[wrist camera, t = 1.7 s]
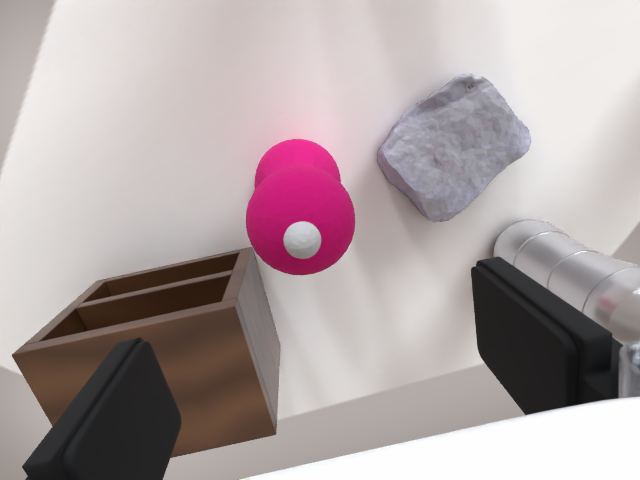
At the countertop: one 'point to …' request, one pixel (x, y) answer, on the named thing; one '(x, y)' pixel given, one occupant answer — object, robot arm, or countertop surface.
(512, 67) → the countertop surface
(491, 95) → the stone block
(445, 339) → the countertop surface
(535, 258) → the silver metal bottle
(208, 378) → the shelf
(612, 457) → the robot arm
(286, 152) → the pepper mill
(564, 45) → the countertop surface
